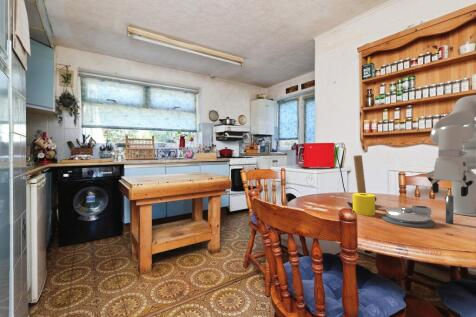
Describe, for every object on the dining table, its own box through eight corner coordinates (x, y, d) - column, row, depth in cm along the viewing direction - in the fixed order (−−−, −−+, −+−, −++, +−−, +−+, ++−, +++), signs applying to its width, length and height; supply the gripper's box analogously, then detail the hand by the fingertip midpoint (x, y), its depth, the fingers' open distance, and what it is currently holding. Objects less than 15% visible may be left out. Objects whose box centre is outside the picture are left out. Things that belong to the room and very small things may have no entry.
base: (398, 213, 116) (398, 211, 116) (444, 223, 99) (444, 221, 99) (372, 218, 109) (372, 215, 108) (418, 230, 91) (418, 227, 91)
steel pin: (447, 222, 102) (447, 194, 101) (454, 223, 99) (454, 195, 99) (444, 222, 101) (444, 195, 100) (451, 224, 98) (451, 196, 98)
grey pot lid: (391, 221, 99) (391, 209, 99) (382, 212, 114) (382, 201, 114) (437, 225, 93) (437, 211, 93) (421, 215, 108) (421, 203, 108)
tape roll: (376, 212, 119) (376, 194, 118) (372, 216, 111) (372, 197, 111) (355, 209, 125) (355, 192, 125) (350, 213, 118) (350, 195, 118)
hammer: (356, 214, 124) (350, 159, 121) (348, 212, 129) (341, 159, 125) (377, 202, 134) (371, 152, 131) (368, 201, 138) (363, 152, 135)
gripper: (481, 154, 93) (480, 197, 93) (431, 154, 108) (430, 191, 109) (472, 154, 90) (471, 198, 90) (421, 154, 105) (421, 192, 105)
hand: (449, 194), depth 99 cm, fingers open, 9 cm apart
